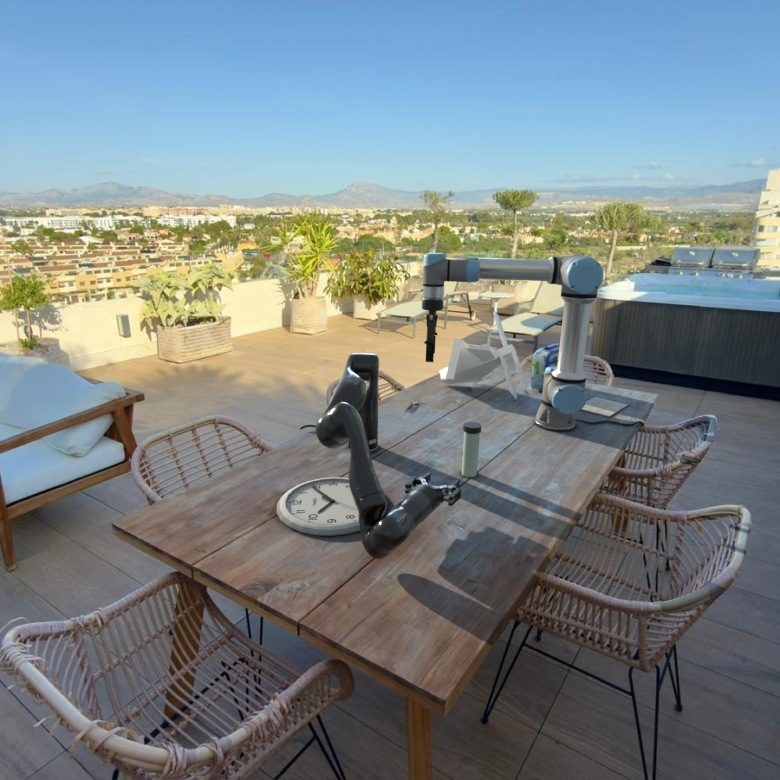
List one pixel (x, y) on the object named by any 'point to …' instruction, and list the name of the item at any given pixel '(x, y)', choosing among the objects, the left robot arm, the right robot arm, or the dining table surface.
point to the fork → (413, 403)
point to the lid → (472, 427)
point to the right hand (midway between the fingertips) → (430, 357)
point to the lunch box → (543, 364)
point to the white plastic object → (482, 362)
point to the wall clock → (320, 507)
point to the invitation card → (603, 406)
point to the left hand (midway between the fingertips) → (443, 479)
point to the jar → (470, 454)
